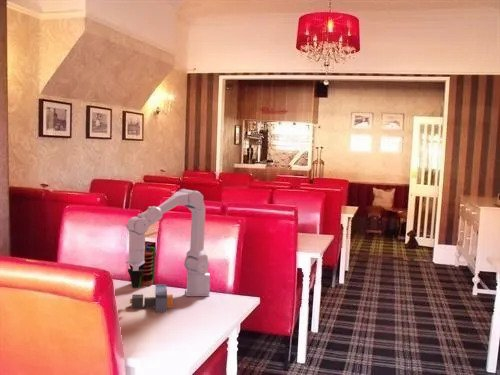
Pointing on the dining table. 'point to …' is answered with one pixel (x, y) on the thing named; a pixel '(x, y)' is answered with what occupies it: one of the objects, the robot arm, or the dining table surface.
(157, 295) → the housing
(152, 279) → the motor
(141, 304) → the plug
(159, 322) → the dining table surface
